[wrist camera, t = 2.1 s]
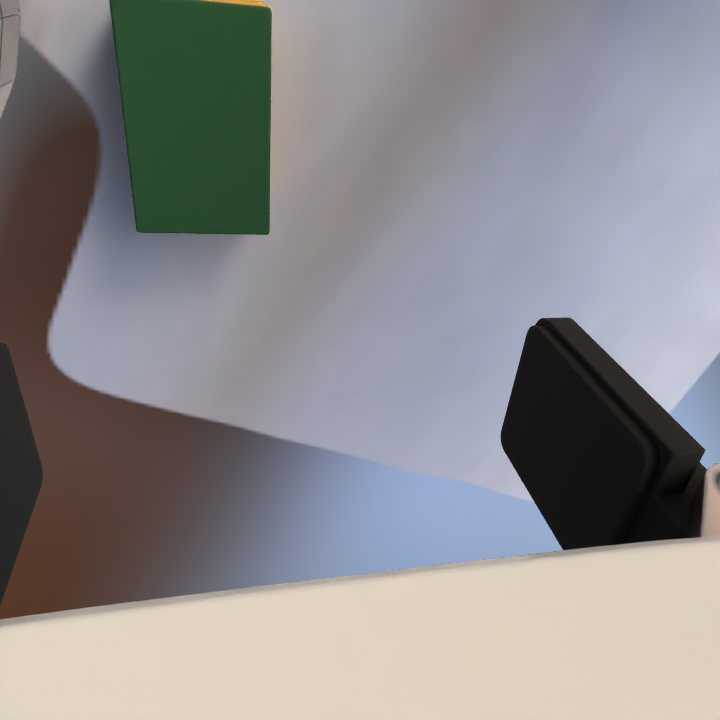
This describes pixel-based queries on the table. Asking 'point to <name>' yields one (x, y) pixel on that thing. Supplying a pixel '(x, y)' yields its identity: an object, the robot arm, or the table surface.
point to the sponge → (196, 113)
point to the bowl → (8, 47)
